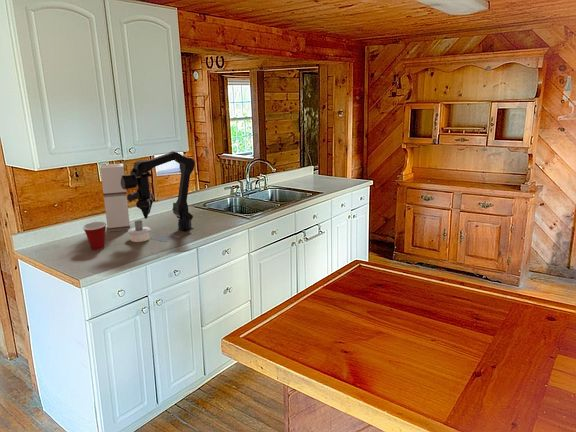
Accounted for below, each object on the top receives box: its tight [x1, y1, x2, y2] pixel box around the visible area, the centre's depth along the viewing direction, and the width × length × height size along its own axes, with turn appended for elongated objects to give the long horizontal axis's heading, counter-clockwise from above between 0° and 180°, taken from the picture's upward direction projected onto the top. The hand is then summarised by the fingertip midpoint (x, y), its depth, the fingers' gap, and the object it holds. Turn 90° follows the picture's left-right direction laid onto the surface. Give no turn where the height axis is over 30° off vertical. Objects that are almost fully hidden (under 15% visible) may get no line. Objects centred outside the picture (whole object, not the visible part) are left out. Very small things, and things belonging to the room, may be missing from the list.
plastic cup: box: [81, 221, 107, 251], centre depth 212 cm, size 11×11×12 cm
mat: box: [149, 232, 182, 243], centre depth 227 cm, size 11×11×1 cm
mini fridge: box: [99, 163, 131, 233], centre depth 242 cm, size 11×11×35 cm
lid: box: [127, 219, 152, 235], centre depth 224 cm, size 11×11×5 cm
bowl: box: [129, 232, 150, 243], centre depth 225 cm, size 9×9×4 cm
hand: (147, 216), depth 226 cm, fingers open, 9 cm apart
